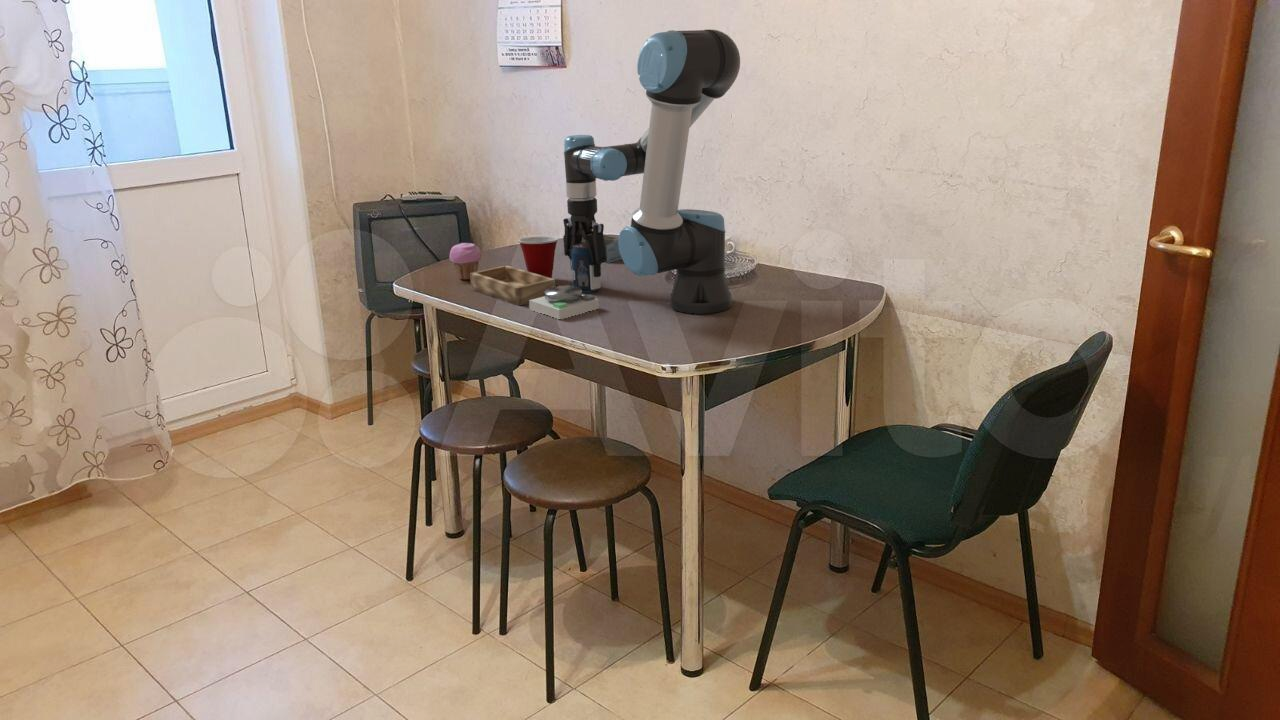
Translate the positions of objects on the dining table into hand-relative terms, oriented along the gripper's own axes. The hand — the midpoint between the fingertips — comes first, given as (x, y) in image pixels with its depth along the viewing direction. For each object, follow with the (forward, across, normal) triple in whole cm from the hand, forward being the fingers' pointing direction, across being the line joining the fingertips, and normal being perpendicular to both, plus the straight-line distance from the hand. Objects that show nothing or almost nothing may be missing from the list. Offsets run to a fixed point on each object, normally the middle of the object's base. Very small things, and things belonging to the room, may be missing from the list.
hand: (586, 285), depth 244 cm
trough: (+1, +12, +15) cm, 19 cm away
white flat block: (+1, -10, +15) cm, 18 cm away
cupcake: (+1, +34, +15) cm, 37 cm away
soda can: (+1, 0, 0) cm, 1 cm away
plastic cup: (+1, +16, +3) cm, 16 cm away
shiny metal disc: (-2, -10, +15) cm, 18 cm away
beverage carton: (+2, +27, -25) cm, 37 cm away
